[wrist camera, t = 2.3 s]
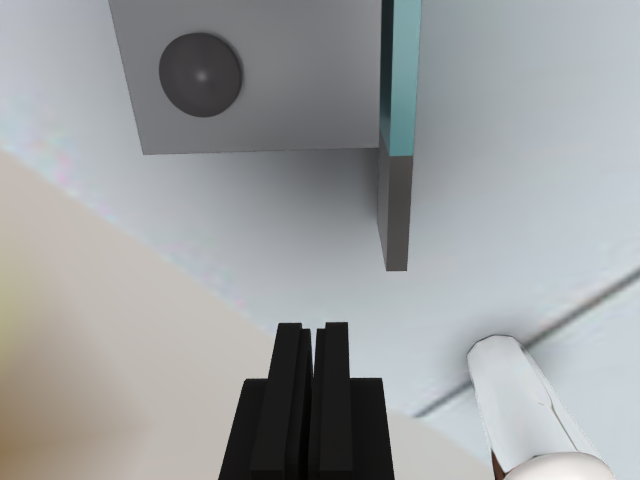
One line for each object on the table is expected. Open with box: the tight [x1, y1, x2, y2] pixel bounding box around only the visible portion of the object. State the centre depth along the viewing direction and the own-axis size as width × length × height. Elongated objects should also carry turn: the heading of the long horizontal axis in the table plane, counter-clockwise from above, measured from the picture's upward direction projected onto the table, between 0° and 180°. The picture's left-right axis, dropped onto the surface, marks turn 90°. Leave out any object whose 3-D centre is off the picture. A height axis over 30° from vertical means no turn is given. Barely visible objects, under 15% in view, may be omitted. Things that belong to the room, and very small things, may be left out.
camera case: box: [108, 0, 382, 155], centre depth 15 cm, size 8×8×6 cm
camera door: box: [377, 0, 422, 271], centre depth 16 cm, size 14×1×4 cm, turn 2°
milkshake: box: [467, 335, 616, 480], centre depth 21 cm, size 5×5×10 cm
